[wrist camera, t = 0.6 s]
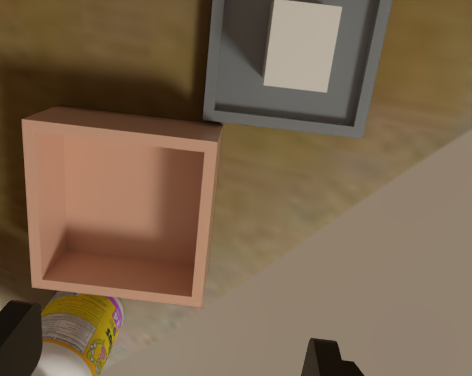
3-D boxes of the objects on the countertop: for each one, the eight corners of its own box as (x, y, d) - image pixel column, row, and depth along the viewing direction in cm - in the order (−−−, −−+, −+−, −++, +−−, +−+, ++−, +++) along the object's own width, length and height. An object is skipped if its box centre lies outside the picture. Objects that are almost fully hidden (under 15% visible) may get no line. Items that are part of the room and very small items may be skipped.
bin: (56, 105, 34) (21, 119, 29) (223, 124, 34) (217, 142, 29) (61, 252, 38) (31, 287, 33) (208, 269, 38) (201, 307, 33)
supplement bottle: (109, 347, 42) (50, 477, 30) (44, 319, 41) (-43, 440, 29) (137, 296, 40) (86, 413, 27) (70, 264, 39) (-13, 371, 27)
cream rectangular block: (271, 3, 30) (274, -2, 25) (328, 10, 30) (342, 6, 25) (261, 77, 32) (263, 85, 27) (315, 83, 32) (326, 92, 27)
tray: (219, -59, 29) (217, -63, 28) (394, -38, 29) (401, -41, 28) (204, 116, 34) (202, 119, 32) (358, 134, 34) (362, 138, 32)
